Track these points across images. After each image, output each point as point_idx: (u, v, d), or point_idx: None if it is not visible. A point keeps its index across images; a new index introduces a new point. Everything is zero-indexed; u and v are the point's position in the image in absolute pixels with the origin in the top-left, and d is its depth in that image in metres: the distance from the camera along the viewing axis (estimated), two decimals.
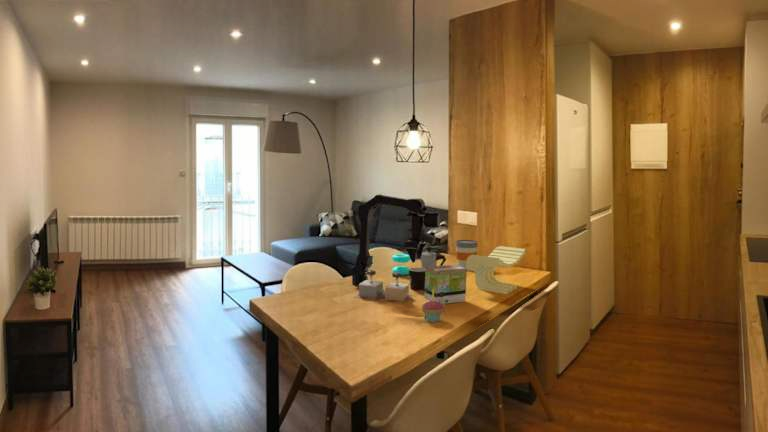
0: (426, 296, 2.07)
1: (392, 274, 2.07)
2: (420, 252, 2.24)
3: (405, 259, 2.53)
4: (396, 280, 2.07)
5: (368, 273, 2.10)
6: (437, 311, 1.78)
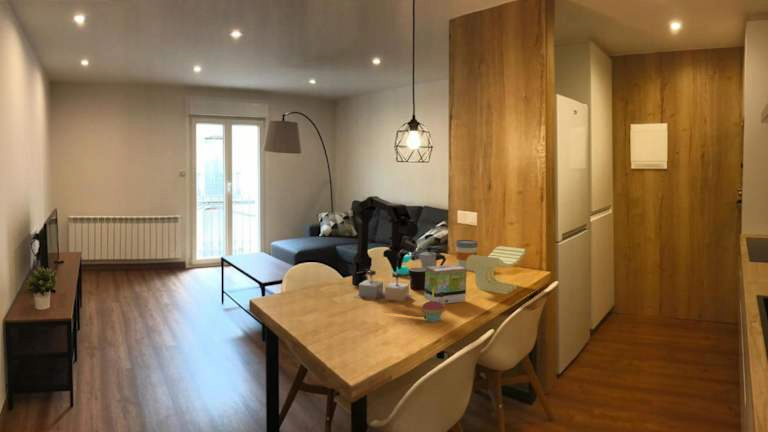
0: (426, 296, 2.07)
1: (392, 274, 2.07)
2: (400, 262, 2.09)
3: (405, 259, 2.53)
4: (396, 280, 2.07)
5: (368, 273, 2.10)
6: (437, 311, 1.78)
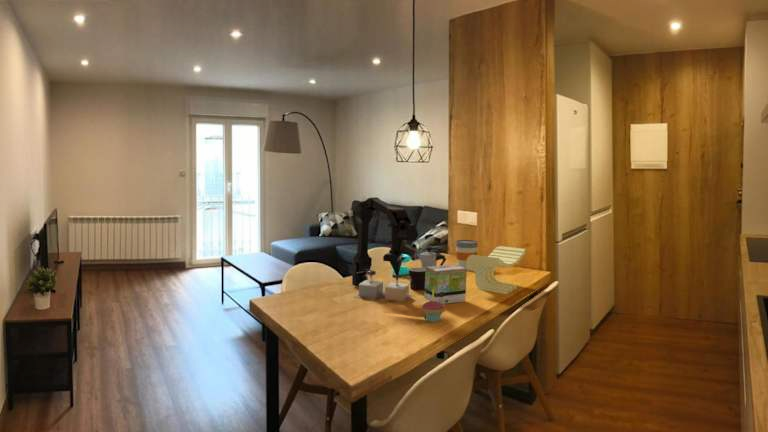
0: (426, 296, 2.07)
1: (392, 275, 2.07)
2: None
3: (405, 259, 2.53)
4: (396, 281, 2.07)
5: (368, 273, 2.10)
6: (437, 311, 1.78)
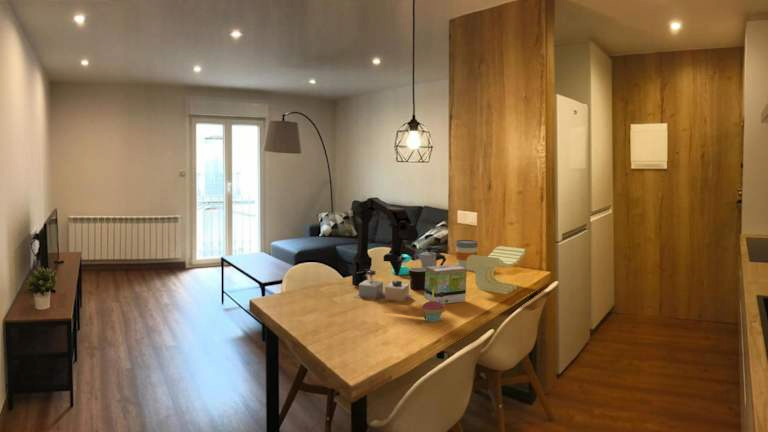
0: (426, 296, 2.07)
1: (392, 282, 2.07)
2: None
3: (405, 259, 2.53)
4: None
5: (368, 273, 2.10)
6: (437, 311, 1.78)
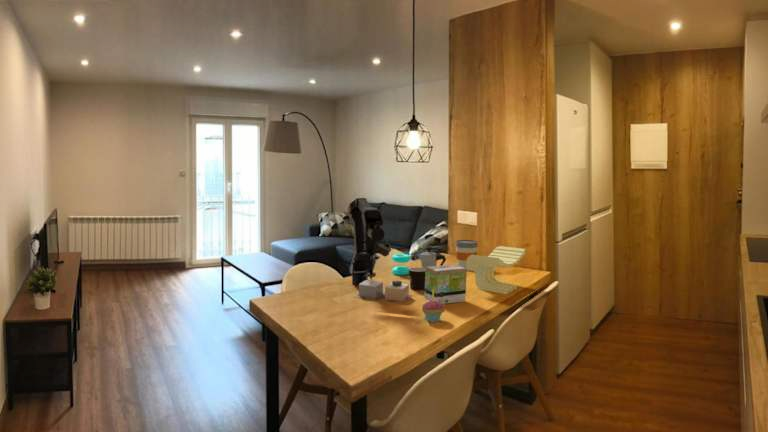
0: (426, 296, 2.07)
1: (392, 282, 2.07)
2: None
3: (405, 259, 2.53)
4: None
5: (368, 275, 2.10)
6: (437, 311, 1.78)
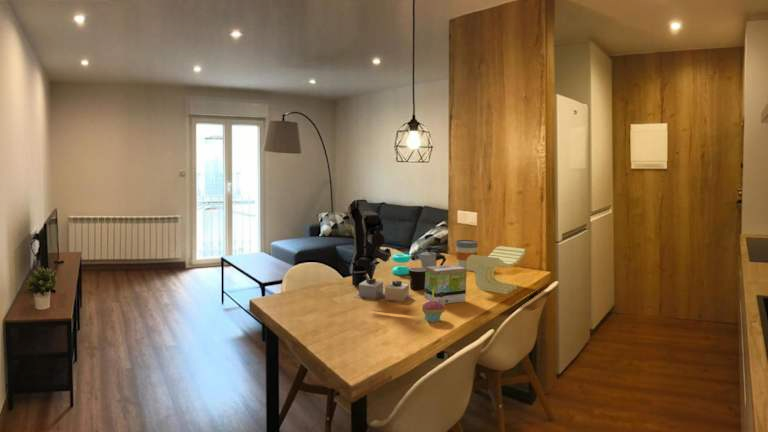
0: (426, 296, 2.07)
1: (392, 282, 2.07)
2: None
3: (405, 259, 2.53)
4: None
5: (368, 281, 2.10)
6: (437, 311, 1.78)
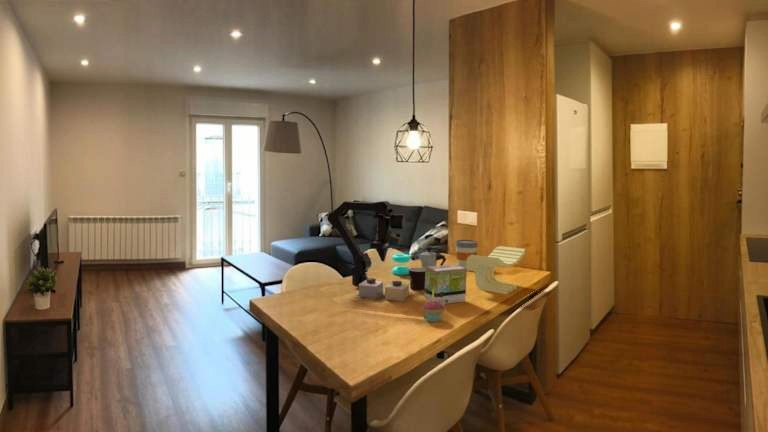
0: (426, 296, 2.07)
1: (392, 282, 2.07)
2: None
3: (405, 259, 2.53)
4: None
5: (368, 281, 2.10)
6: (437, 311, 1.78)
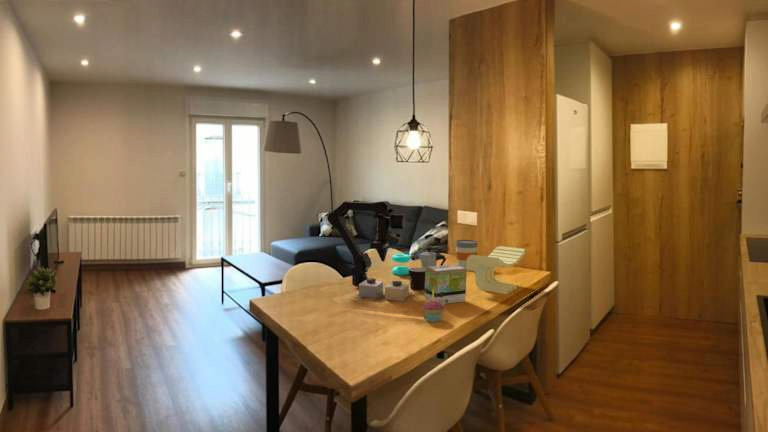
0: (426, 296, 2.07)
1: (392, 282, 2.07)
2: None
3: (405, 259, 2.53)
4: None
5: (368, 281, 2.10)
6: (437, 311, 1.78)
